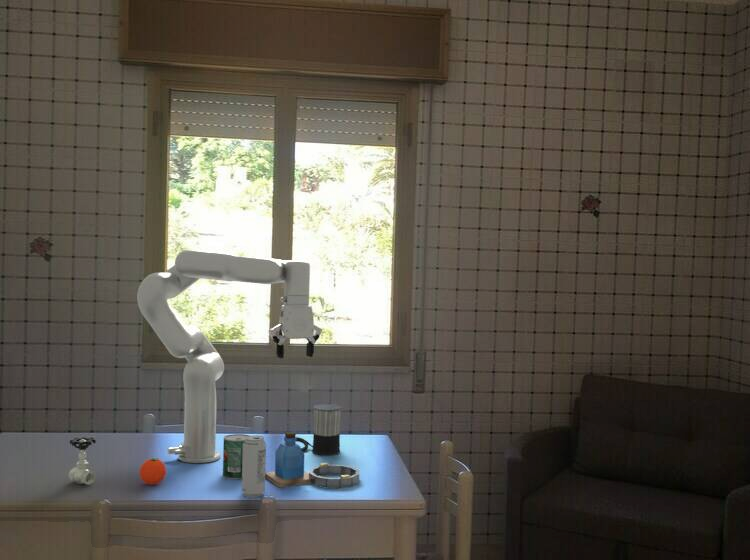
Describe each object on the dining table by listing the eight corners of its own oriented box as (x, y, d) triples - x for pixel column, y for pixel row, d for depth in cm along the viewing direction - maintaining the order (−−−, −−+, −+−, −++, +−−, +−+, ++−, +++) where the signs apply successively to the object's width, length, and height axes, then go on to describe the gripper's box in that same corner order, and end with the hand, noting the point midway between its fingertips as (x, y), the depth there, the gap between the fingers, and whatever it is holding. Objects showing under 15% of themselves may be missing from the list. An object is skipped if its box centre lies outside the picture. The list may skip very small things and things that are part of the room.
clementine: (145, 479, 207) (146, 453, 207) (170, 480, 207) (170, 454, 207) (135, 487, 199) (136, 461, 199) (161, 488, 199) (161, 462, 199)
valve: (79, 489, 197) (80, 443, 197) (63, 484, 200) (64, 440, 200) (100, 483, 202) (101, 439, 202) (84, 478, 206) (85, 435, 206)
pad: (279, 487, 203) (279, 483, 203) (264, 476, 213) (264, 472, 213) (315, 482, 209) (315, 478, 209) (299, 472, 218) (299, 468, 218)
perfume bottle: (283, 479, 206) (284, 436, 206) (275, 473, 212) (276, 431, 212) (303, 476, 209) (304, 434, 209) (295, 471, 215) (296, 429, 215)
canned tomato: (220, 472, 215) (220, 434, 215) (246, 470, 218) (247, 433, 218) (225, 480, 208) (226, 441, 208) (253, 478, 211) (254, 439, 211)
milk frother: (345, 453, 241) (347, 408, 240) (302, 459, 232) (303, 412, 232) (324, 444, 252) (325, 400, 252) (281, 449, 244) (283, 404, 243)
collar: (323, 490, 201) (323, 479, 201) (301, 476, 214) (301, 466, 213) (368, 484, 208) (368, 473, 208) (344, 471, 221) (344, 460, 221)
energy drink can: (248, 489, 200) (249, 434, 200) (268, 492, 199) (270, 436, 198) (237, 496, 195) (238, 439, 194) (258, 499, 193) (260, 441, 192)
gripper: (275, 301, 219) (273, 359, 220) (327, 301, 228) (326, 357, 229) (265, 300, 226) (263, 356, 226) (316, 300, 235) (315, 354, 235)
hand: (295, 357), depth 228 cm, fingers open, 9 cm apart
